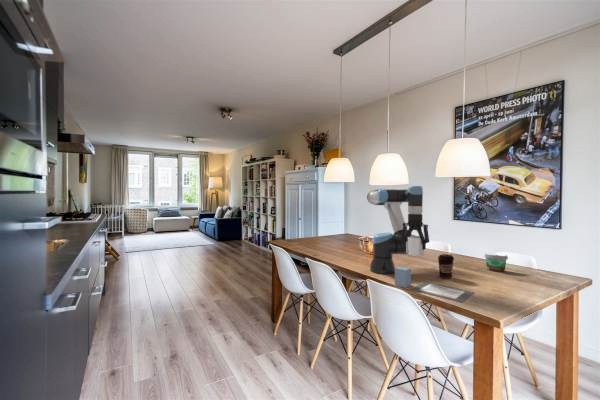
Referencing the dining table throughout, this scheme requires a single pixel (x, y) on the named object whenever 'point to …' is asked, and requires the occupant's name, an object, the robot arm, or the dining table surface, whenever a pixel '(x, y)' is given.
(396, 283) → the block
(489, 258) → the food container
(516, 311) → the dining table surface
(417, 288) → the desk mat
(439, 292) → the letter
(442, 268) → the coffee cup
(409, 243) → the white cup
